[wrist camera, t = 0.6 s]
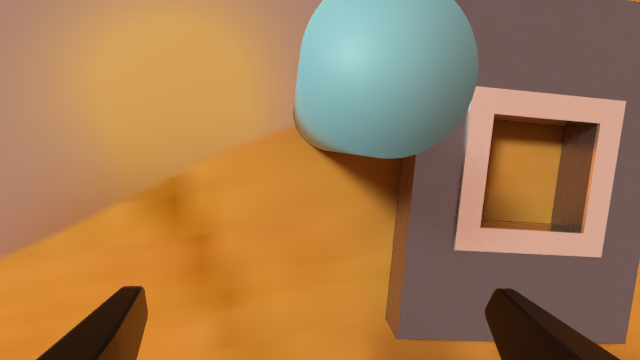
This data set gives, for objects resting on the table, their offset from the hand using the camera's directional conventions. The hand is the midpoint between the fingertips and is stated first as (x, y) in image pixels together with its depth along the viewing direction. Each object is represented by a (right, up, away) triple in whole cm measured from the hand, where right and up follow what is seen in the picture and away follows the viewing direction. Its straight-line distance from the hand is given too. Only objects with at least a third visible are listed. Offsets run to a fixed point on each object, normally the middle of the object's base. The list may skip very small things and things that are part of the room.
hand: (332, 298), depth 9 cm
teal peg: (0, +7, +14) cm, 15 cm away
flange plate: (+13, +4, +15) cm, 20 cm away
